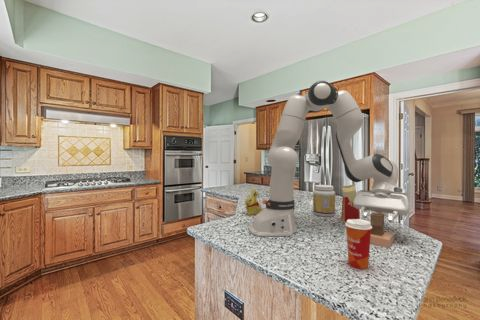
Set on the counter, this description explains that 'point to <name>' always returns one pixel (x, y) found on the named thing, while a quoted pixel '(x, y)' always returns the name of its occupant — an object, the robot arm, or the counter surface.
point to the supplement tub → (324, 200)
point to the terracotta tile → (382, 239)
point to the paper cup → (358, 242)
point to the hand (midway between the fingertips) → (377, 219)
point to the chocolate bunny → (253, 203)
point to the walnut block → (377, 224)
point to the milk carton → (349, 204)
